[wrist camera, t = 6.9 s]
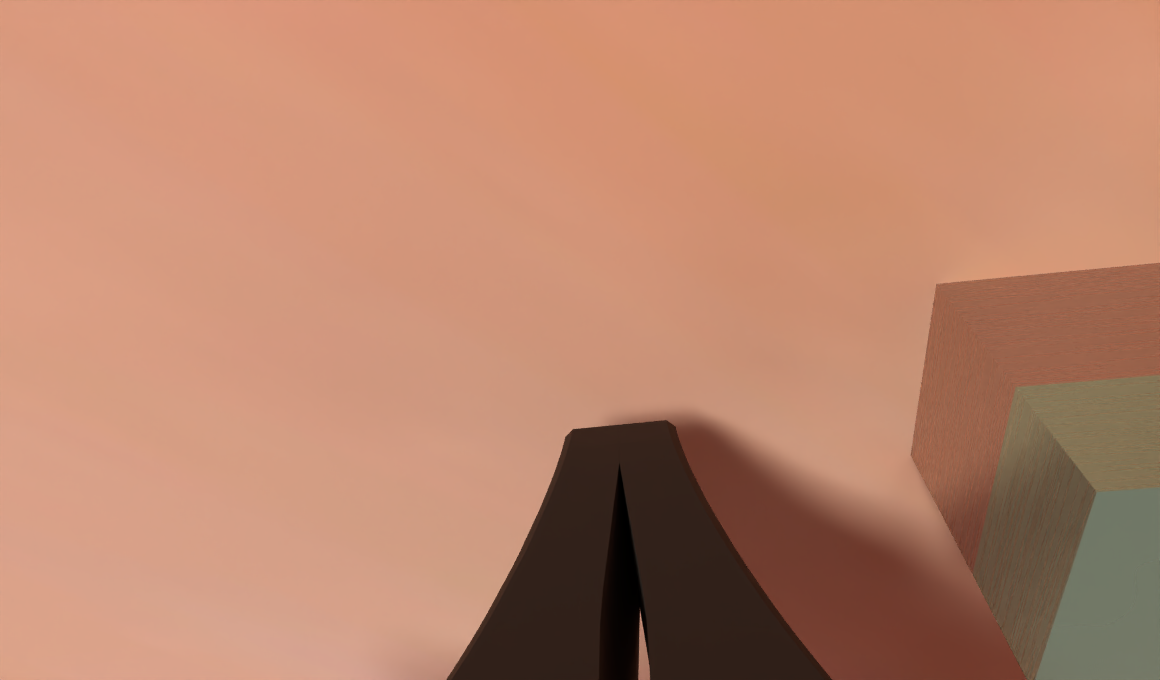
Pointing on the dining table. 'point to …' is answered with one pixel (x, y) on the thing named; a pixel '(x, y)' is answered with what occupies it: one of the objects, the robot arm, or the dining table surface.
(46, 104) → the dining table surface
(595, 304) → the dining table surface
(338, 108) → the dining table surface
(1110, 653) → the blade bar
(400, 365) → the dining table surface
